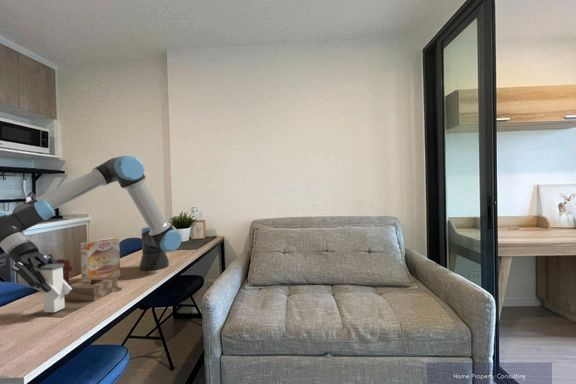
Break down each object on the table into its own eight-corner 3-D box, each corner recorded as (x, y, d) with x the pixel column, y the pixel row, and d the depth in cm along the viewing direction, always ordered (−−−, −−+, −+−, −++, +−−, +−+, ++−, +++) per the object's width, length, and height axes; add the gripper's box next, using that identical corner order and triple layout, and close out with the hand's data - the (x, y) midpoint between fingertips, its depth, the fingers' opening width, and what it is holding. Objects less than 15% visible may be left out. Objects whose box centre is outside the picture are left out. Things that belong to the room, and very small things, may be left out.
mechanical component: (78, 283, 139) (57, 290, 129) (61, 282, 141) (39, 289, 131) (77, 257, 138) (56, 263, 128) (59, 257, 140) (38, 262, 130)
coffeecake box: (89, 285, 135) (87, 243, 134) (81, 283, 138) (79, 242, 138) (121, 276, 148) (119, 238, 147) (113, 274, 151) (111, 237, 151)
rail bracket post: (55, 306, 106) (52, 263, 106) (66, 307, 106) (63, 263, 105) (42, 312, 102) (40, 267, 101) (54, 312, 101) (52, 267, 101)
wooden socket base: (92, 289, 130) (92, 275, 129) (121, 289, 128) (121, 276, 128) (26, 319, 101) (25, 302, 101) (62, 320, 99) (61, 303, 99)
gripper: (37, 250, 114) (77, 292, 112) (-13, 261, 97) (33, 312, 95) (48, 236, 113) (89, 279, 111) (-1, 245, 96) (46, 296, 94)
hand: (63, 294), depth 103 cm, fingers closed on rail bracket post, 4 cm apart
